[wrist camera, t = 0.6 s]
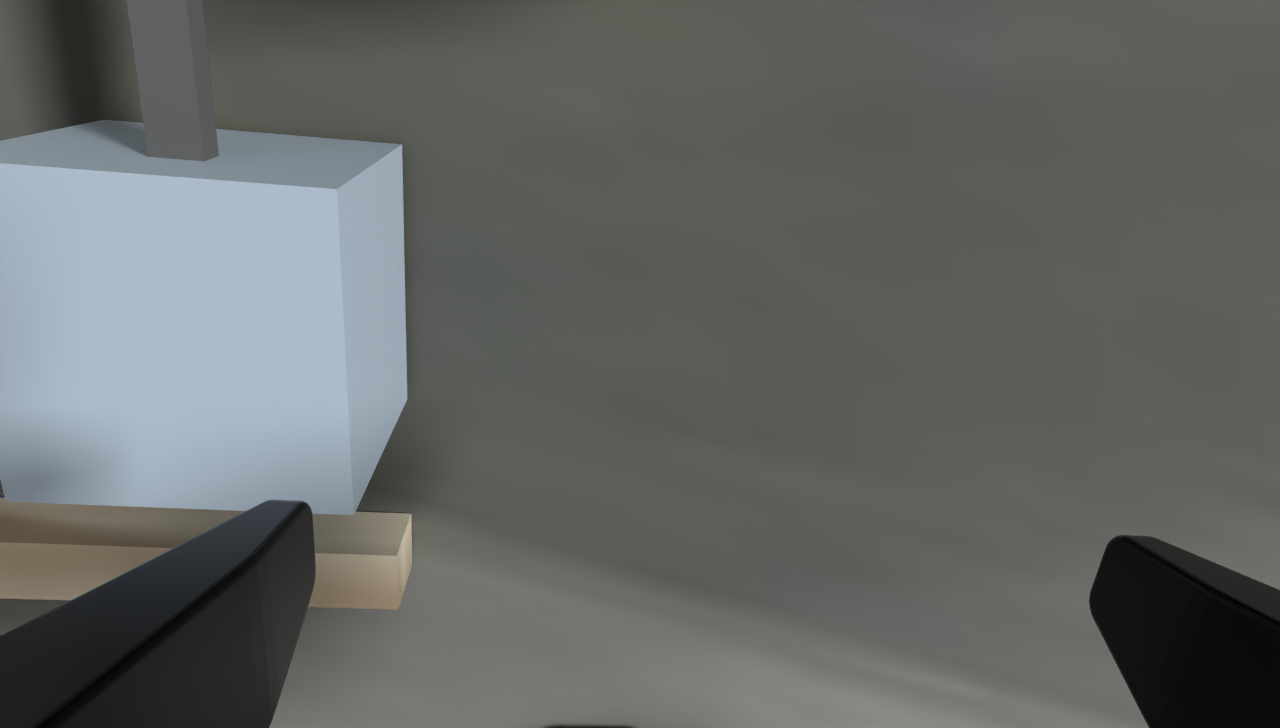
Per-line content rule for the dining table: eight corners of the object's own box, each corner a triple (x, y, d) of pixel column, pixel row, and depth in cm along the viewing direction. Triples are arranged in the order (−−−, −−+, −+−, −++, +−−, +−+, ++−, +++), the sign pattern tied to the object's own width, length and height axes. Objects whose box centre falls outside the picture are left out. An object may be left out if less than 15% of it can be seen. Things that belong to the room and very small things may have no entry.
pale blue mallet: (407, 398, 20) (353, 515, 15) (145, 384, 19) (5, 501, 14) (391, -324, 14) (301, -490, 10) (26, -374, 14) (-258, -577, 9)
